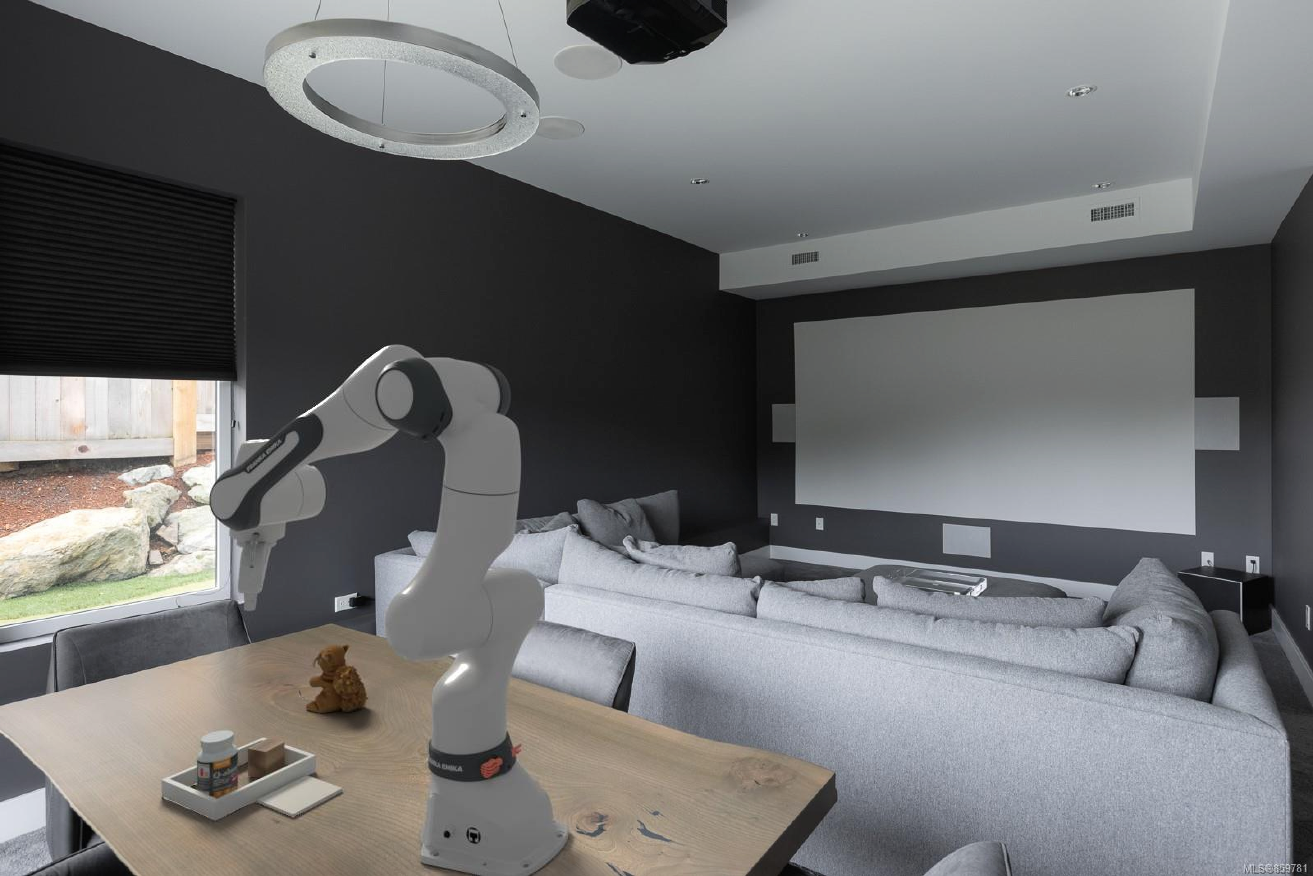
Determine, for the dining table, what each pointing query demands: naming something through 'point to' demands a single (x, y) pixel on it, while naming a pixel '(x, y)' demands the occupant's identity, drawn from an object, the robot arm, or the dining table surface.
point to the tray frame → (216, 808)
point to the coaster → (300, 796)
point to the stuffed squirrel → (336, 683)
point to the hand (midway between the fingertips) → (252, 599)
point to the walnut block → (266, 758)
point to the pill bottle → (217, 764)
